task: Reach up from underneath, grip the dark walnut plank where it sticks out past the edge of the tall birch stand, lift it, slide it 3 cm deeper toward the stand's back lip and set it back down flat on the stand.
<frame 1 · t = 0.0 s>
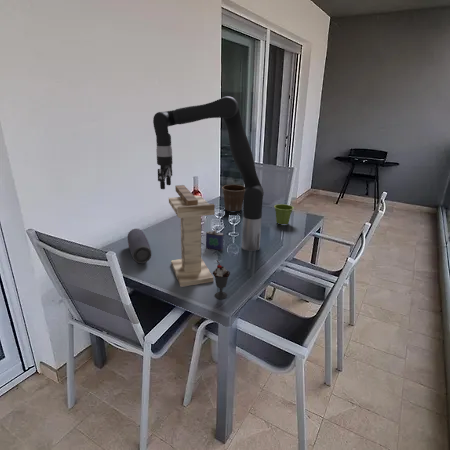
hand: (165, 187, 161), 29 cm above the table, tool pointing down, fingers open, 8 cm apart
plant pot 2: (282, 224, 198), on the table
birch stand: (191, 272, 139), on the table
sundae: (220, 295, 124), on the table
walnut plank: (185, 197, 135), point 32 cm above the table, touching birch stand
bluetooth speaker: (139, 255, 154), on the table
plant pot: (233, 210, 221), on the table
flask: (214, 249, 162), on the table
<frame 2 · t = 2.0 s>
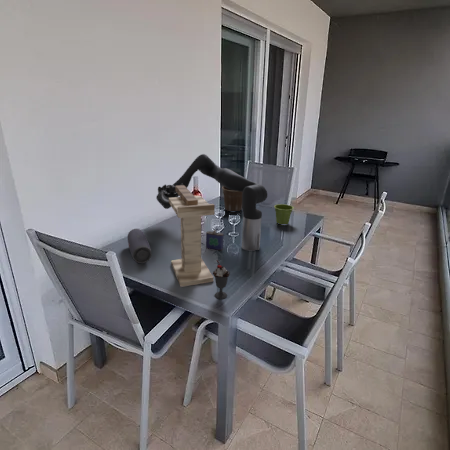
hand: (174, 185, 156), 31 cm above the table, tool pointing upward, fingers open, 8 cm apart
nothing on the table moved.
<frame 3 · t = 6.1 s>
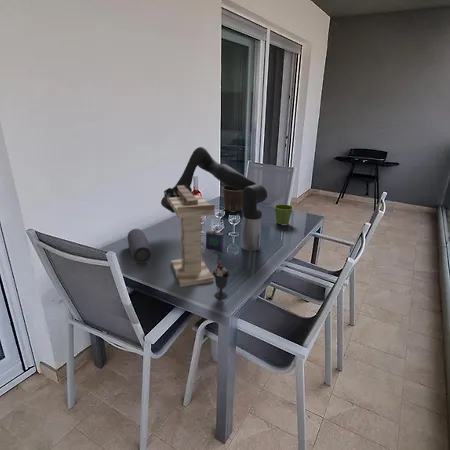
hand: (181, 187, 140), 35 cm above the table, tool pointing upward, fingers closed on walnut plank, 4 cm apart
walnut plank: (185, 197, 135), point 32 cm above the table, touching birch stand, gripper
everything else where it was.
when the fingers open (36 cm above the table, at t = 9.9 s): walnut plank stays where it is, resting on birch stand.
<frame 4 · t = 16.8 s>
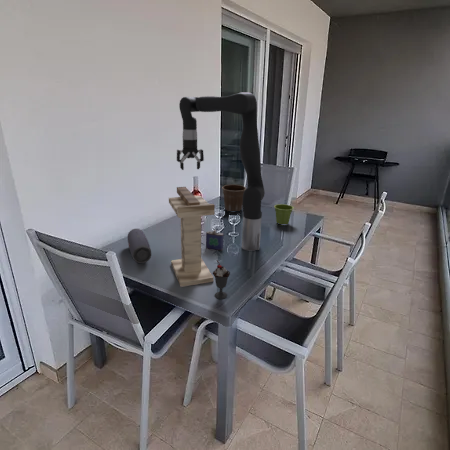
hand: (190, 169, 170), 36 cm above the table, tool pointing down, fingers open, 8 cm apart
walnut plank: (187, 199, 132), point 32 cm above the table, touching birch stand
everything else where it was.
at the end: walnut plank 5.0 cm from the birch stand (horizontally); walnut plank point 32.0 cm above the table; the gripper is holding nothing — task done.
